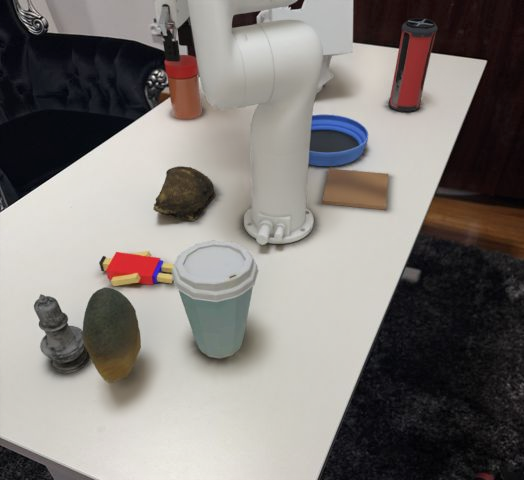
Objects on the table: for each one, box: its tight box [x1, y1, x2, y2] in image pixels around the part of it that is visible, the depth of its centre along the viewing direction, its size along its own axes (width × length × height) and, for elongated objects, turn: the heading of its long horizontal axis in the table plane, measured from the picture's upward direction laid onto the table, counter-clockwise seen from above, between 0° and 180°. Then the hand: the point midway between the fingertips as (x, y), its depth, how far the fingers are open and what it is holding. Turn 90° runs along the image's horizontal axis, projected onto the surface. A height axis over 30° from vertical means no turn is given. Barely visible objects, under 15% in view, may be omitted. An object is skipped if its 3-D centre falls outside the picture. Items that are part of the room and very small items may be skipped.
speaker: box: [388, 17, 438, 113], centre depth 115 cm, size 8×8×18 cm
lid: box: [164, 54, 199, 79], centre depth 113 cm, size 8×8×2 cm
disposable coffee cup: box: [171, 239, 259, 359], centre depth 65 cm, size 11×11×15 cm
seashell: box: [152, 165, 216, 221], centre depth 92 cm, size 16×9×7 cm, turn 160°
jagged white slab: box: [256, 0, 354, 95], centre depth 119 cm, size 20×16×25 cm
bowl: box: [308, 113, 369, 167], centre depth 107 cm, size 18×18×4 cm
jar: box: [166, 73, 203, 120], centre depth 117 cm, size 7×7×11 cm
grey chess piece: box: [33, 293, 91, 374], centre depth 64 cm, size 6×6×12 cm
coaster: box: [321, 168, 389, 211], centre depth 97 cm, size 12×12×1 cm
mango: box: [82, 286, 142, 384], centre depth 61 cm, size 10×6×15 cm, turn 170°
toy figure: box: [98, 250, 174, 287], centre depth 80 cm, size 2×7×12 cm
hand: (179, 52), depth 111 cm, fingers open, 9 cm apart
